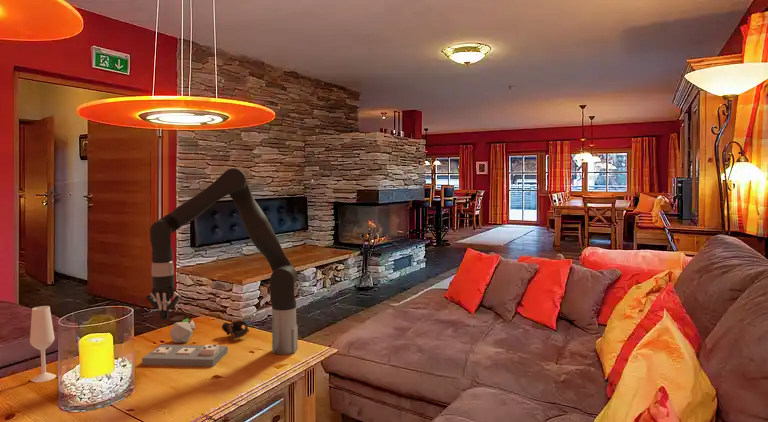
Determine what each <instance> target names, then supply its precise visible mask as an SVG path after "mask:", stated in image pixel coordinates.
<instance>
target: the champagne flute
mask: <svg viewBox="0 0 768 422" xmlns="http://www.w3.org/2000/svg"><path fill="white" fill-rule="evenodd" d="M54 341H55V331H54V325H53V319H52V313H51V306H50V305H43V306H42V305H40V306H35V307H32V308H31V320H30V335H29V344H30V345H31V346H32V347H33V348H34V349H36V350H39V351H40V365H41V366H40V367H41V373H38V375H36V376H35V377H33V378H32V379H31V382H33V383H43V382H48V381H50V380H53V379H55V378H56V377H57V375H56V374H54V373H50V372H47V368H46V367H47V366H46V350H47V349H48V348H49V347H50V346H51V345H52V344H53V343H54Z"/></svg>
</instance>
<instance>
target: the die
mask: <svg viewBox="0 0 768 422" xmlns="http://www.w3.org/2000/svg"><path fill="white" fill-rule="evenodd" d="M193 333H194V330H193V331H192V329H191V327H190V324H189V322H182V321H179V322H174V324H173V325H172V327H171V329H170V331H169V335H170V337H171V339H172V342H173V343H174V344H178V343H179V344H182V343H188V342H189V340H190V339H191V336H192V334H193Z"/></svg>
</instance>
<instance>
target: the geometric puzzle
mask: <svg viewBox="0 0 768 422" xmlns="http://www.w3.org/2000/svg"><path fill="white" fill-rule="evenodd" d="M181 322H189V324H190V327H191V329H192V331H193V332H194V331H195V330H196V326H197V322H195V321H194V320H193V319H192V318H189V317H187V318H185V319H183V320H181Z"/></svg>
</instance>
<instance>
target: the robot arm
mask: <svg viewBox="0 0 768 422" xmlns="http://www.w3.org/2000/svg"><path fill="white" fill-rule="evenodd" d="M226 196H230V198H231V200H232V201H233V203H234V205H235V206H236V209H237V210H238V213H239V216H240V219H241V222H242V224H243V227H244V229H245V231H246V233H247V235H248V237H249V239H250V241H251V242H252V243H253V245H254V247H255V248H257V251H259V252H260V253H261V255H263V257H265V259H266V261H267V262H268V264H269V266H270V268H271V270H272V273H271V275H270V278H269V293H270V294H269V296H270V302H271V339H272V341H271V342H272V348H271V349H272V353H273V354H276V355H289V354H295V353H296V351H297V350H298V348H299V345H298V344H299V343H298V340H299V337H298V334H299V333H298V331H299V329H298V326H299V325H298V324H297V300H296V298H295V284H296V283H297V281H298V273H297V270H296V269H295V267H294V266H293V264H292V263H291V261H290V259H289V258H288V257H287V255H286V253H285V252H284V250H283V248H282V246H281V243H280V241H279V239H278V237H277V235H276V233H275V231H274V229H273V227H272V225H271V223H270V221H269V218H268V217H267V216H266V214H265V213H264V211H263V210H262V208H261V207H260V206H259V204H258V202H257V201H256V200H255V198H254V196H253V194H252V191H251V189H250V186H249V184H248V179H247V177H246V174H245V173H244V172H243V171H242V170H241V169H239V168H234V167H233V168H228V169H227V170H225V171H224V172H223V173H222V174H221V175H220V176H219V177H218V178H217V179H216V180H215V181H214V182H212V183H211V184H210V185H208V186H207V187H206V188H205V189H203V190H201V192H200V191H199V193H198V194H195V195H194V196H192V197H191V198H189V199H188V200H186V201H185V202H183V203H182V204H180V205H179V206H177V207H175V208H174V209H173V210H172V211H170V212H169V213H168V214H166V215H164V216H162V217H160V218H159V219H158V220H156V221H154V222H153V223H152V224H151V225H150V229H149V239H150V245H151V286H152V289H151V292H150V293H149V294H148V295H146V296H145V299H146V300H147V301H148V302H149V303H150V305H151V306H152V307H153V309H155V310H159V318H160V319H161V321H167V320H168V319H169V317H170V309H172V308H174V307H175V306H176V304H178V302H179V301H180V299H181V298H182V294H181V293H177V292H176V288H175V267H174V259H173V258H174V256H173V255H174V254H173V248H172V234H174V233H175V232H176V231H178V230H179V229H180V228H182V227H183V226H186V225H188V224H189V223H191V222H192V221H194V220H195V219H197V218H198V217H199V216H201V215H202V214H204V212H206V211H207V210H209V208H211V207H212V206H213V205H214V204H215V203H216V202H218V201H220V200H222V199H223V198H224V197H226ZM171 299H172V300H171Z"/></svg>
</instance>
